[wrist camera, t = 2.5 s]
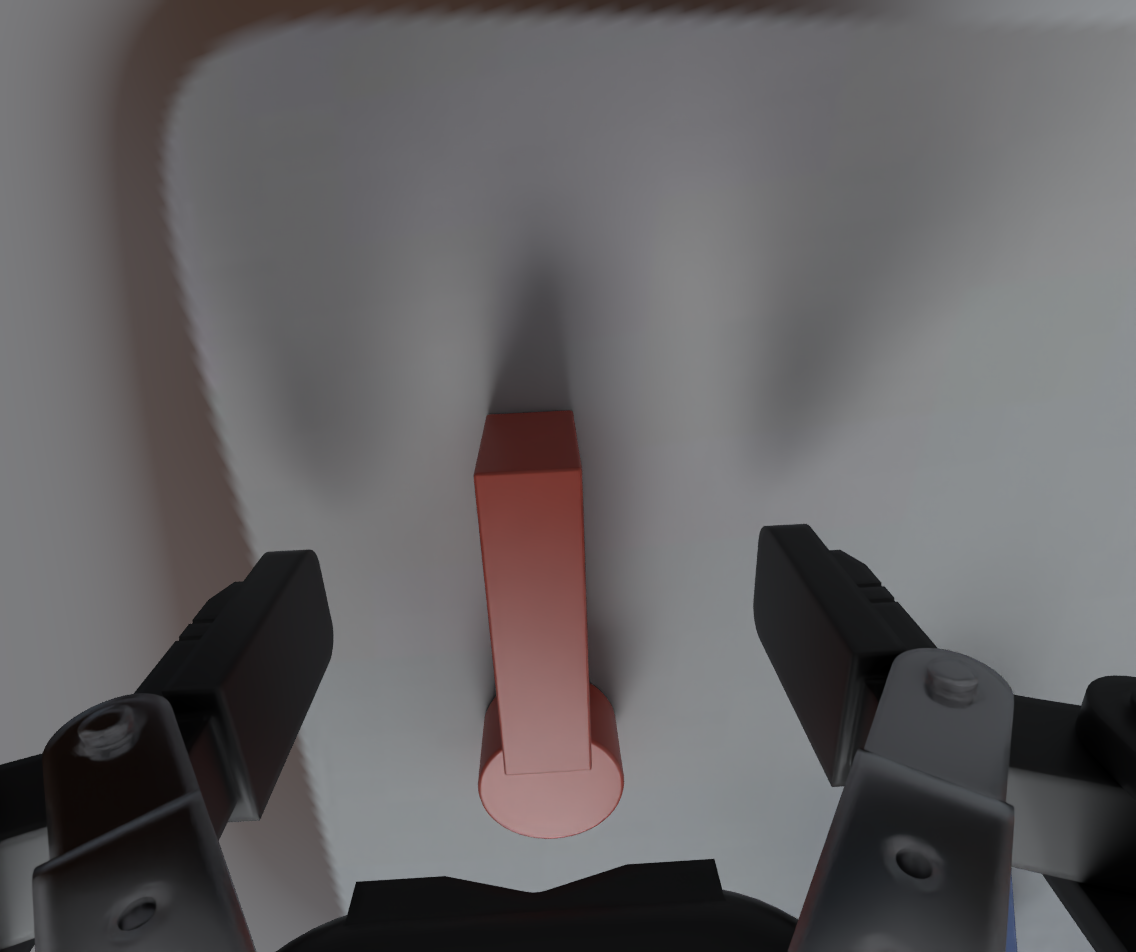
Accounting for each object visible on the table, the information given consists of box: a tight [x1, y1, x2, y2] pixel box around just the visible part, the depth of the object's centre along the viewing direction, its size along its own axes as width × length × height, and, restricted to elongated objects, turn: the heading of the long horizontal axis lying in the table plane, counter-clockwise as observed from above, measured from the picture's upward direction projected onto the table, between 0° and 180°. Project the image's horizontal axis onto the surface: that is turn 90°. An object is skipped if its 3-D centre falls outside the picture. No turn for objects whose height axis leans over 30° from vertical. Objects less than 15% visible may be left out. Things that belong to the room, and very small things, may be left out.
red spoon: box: [474, 410, 624, 839], centre depth 13 cm, size 9×3×3 cm, turn 2°
